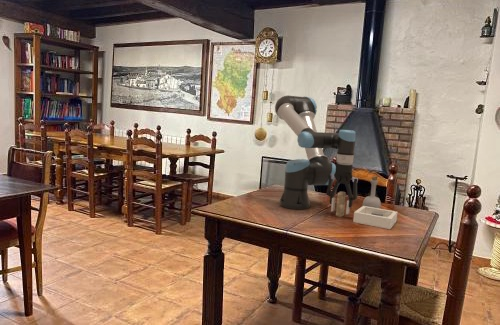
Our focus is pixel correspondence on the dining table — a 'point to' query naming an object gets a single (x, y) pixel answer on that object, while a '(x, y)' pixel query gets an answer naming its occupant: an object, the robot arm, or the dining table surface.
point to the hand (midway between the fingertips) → (340, 212)
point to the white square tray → (375, 217)
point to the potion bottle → (372, 196)
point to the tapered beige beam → (340, 204)
